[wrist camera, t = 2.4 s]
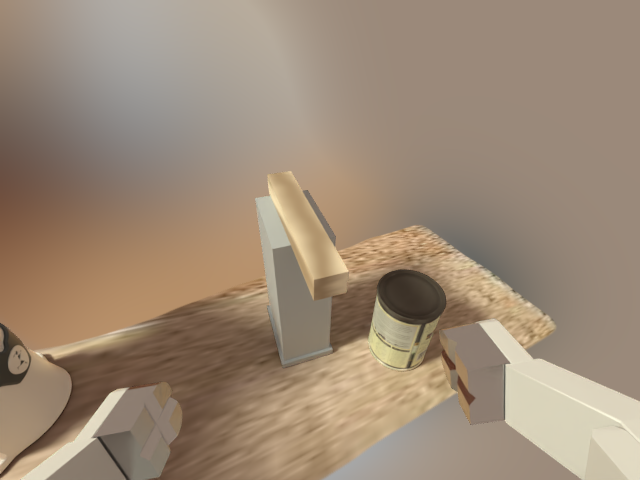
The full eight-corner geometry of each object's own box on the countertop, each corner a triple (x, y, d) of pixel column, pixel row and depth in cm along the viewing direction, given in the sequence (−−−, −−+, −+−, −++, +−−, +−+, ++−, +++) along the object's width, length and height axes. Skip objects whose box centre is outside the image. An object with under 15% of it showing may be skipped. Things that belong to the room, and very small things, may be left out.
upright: (282, 368, 52) (268, 252, 36) (267, 309, 62) (251, 197, 46) (332, 353, 55) (340, 237, 38) (310, 298, 64) (309, 188, 48)
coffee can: (374, 314, 61) (384, 262, 52) (428, 331, 58) (448, 279, 50) (360, 359, 54) (370, 307, 45) (421, 381, 51) (444, 329, 42)
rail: (313, 301, 30) (313, 279, 29) (269, 192, 47) (267, 174, 45) (346, 292, 31) (349, 271, 29) (291, 189, 47) (290, 171, 46)
